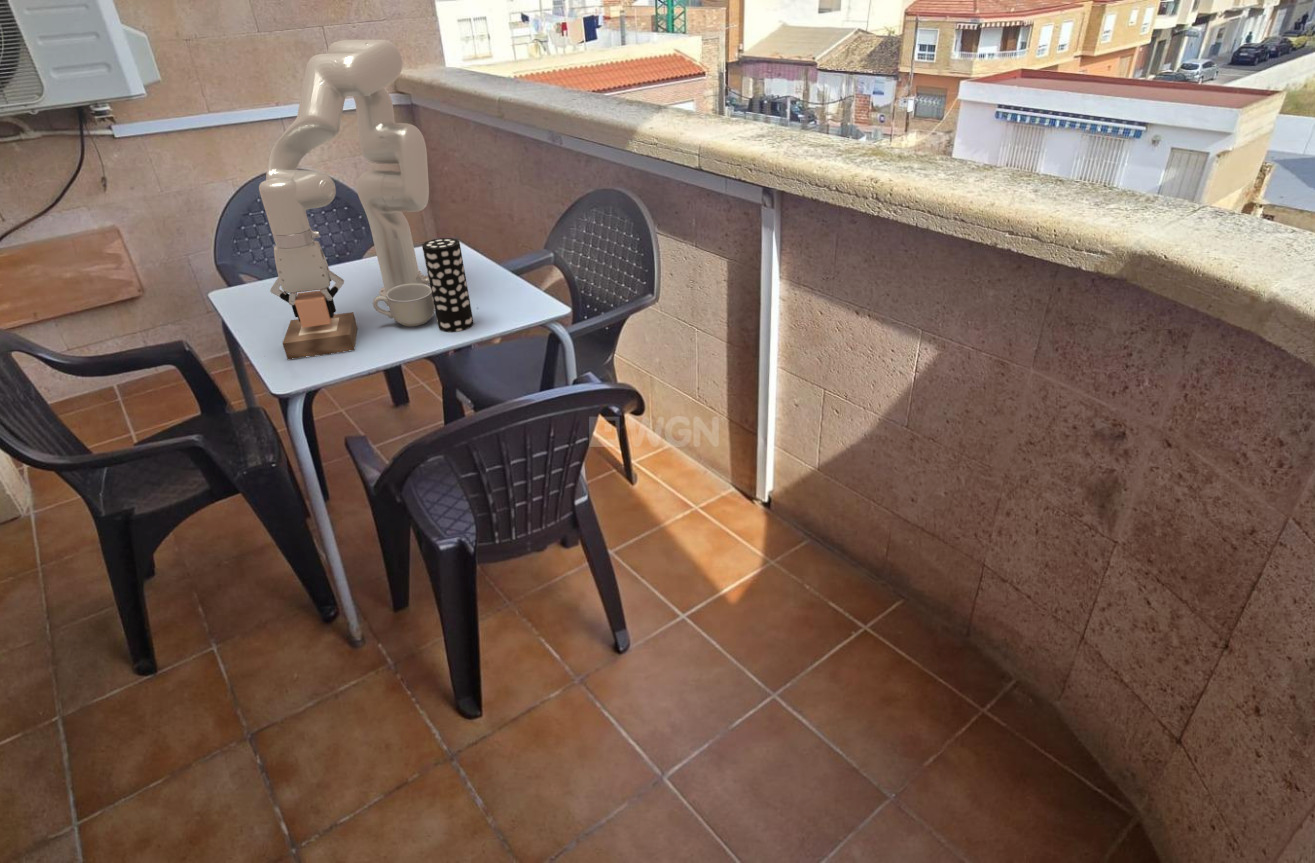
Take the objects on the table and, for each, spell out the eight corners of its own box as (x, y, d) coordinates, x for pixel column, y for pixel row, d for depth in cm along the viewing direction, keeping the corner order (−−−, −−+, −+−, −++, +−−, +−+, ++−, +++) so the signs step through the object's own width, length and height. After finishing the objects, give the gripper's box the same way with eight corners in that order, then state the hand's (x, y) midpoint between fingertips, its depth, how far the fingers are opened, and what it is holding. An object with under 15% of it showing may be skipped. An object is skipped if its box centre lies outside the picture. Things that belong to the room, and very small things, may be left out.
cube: (332, 314, 169) (325, 289, 166) (330, 323, 164) (323, 298, 161) (305, 317, 168) (297, 293, 165) (302, 327, 163) (294, 302, 160)
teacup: (439, 311, 184) (433, 281, 180) (436, 328, 175) (429, 296, 170) (382, 316, 182) (375, 286, 178) (376, 333, 173) (368, 302, 169)
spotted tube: (441, 334, 171) (424, 251, 161) (435, 322, 178) (419, 241, 167) (476, 328, 174) (462, 245, 164) (469, 316, 181) (455, 236, 170)
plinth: (357, 327, 176) (353, 311, 174) (354, 350, 165) (349, 333, 163) (295, 335, 173) (290, 319, 171) (287, 359, 162) (282, 342, 159)
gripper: (337, 230, 161) (357, 306, 171) (253, 238, 157) (278, 316, 167) (334, 239, 155) (355, 318, 165) (247, 248, 151) (273, 329, 161)
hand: (316, 316), depth 166 cm, fingers closed on cube, 5 cm apart
